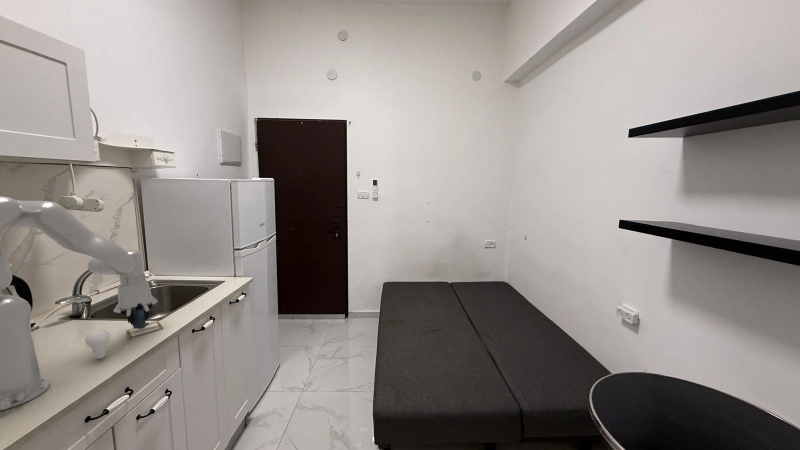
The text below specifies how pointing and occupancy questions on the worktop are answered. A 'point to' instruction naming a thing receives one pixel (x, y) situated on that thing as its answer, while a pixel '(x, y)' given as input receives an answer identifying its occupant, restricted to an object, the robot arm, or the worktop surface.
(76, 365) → the worktop surface
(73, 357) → the worktop surface
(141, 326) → the vaping device
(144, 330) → the clipboard
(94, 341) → the lightbulb
